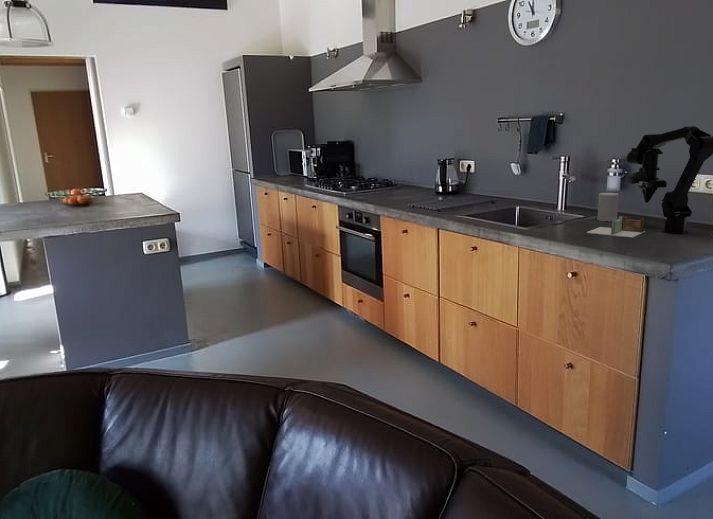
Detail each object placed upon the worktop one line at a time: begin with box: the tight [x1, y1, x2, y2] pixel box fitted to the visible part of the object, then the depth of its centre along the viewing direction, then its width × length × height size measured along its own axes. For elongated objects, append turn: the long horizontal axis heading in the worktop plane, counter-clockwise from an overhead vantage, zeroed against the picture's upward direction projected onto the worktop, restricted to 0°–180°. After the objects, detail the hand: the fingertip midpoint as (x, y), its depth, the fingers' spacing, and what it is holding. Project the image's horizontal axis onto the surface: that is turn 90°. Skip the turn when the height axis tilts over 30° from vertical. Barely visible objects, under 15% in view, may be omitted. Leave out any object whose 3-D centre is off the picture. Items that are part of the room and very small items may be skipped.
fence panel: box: [610, 215, 624, 234], centre depth 220 cm, size 9×1×6 cm, turn 137°
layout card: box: [585, 226, 646, 239], centre depth 222 cm, size 18×14×1 cm
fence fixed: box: [622, 216, 645, 232], centre depth 221 cm, size 9×1×6 cm, turn 45°
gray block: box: [597, 192, 620, 223], centre depth 248 cm, size 8×8×12 cm
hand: (646, 202), depth 230 cm, fingers closed
